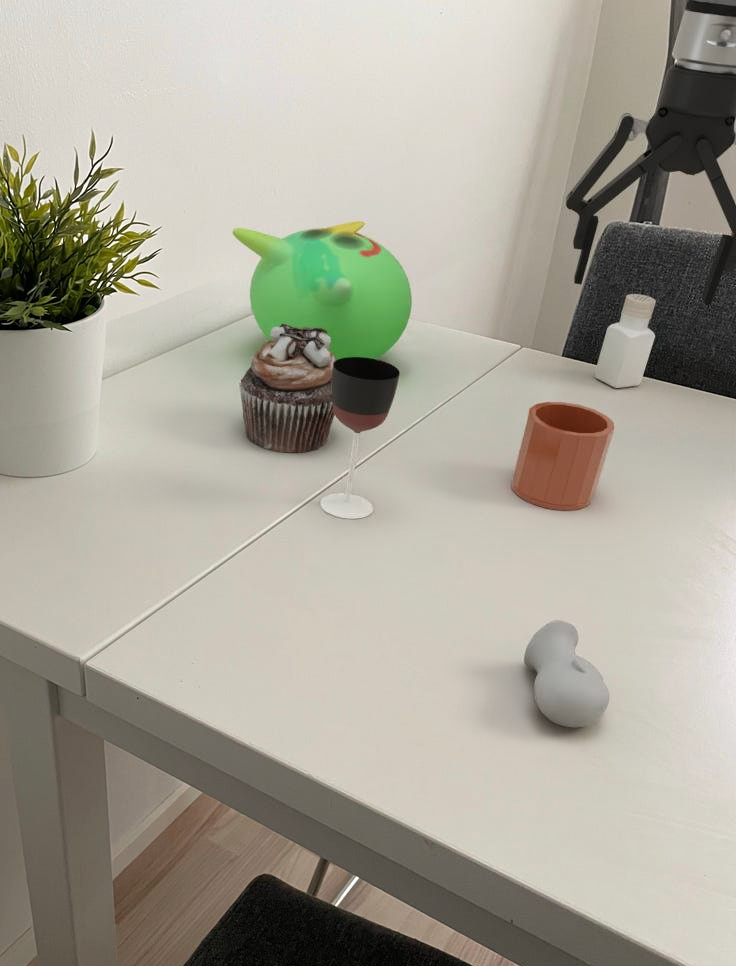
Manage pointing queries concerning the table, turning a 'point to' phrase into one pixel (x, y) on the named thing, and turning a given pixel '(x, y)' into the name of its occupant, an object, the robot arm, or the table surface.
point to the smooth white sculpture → (565, 677)
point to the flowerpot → (561, 455)
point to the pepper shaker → (627, 344)
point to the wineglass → (359, 417)
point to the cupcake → (290, 391)
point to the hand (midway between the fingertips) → (641, 291)
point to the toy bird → (330, 287)
